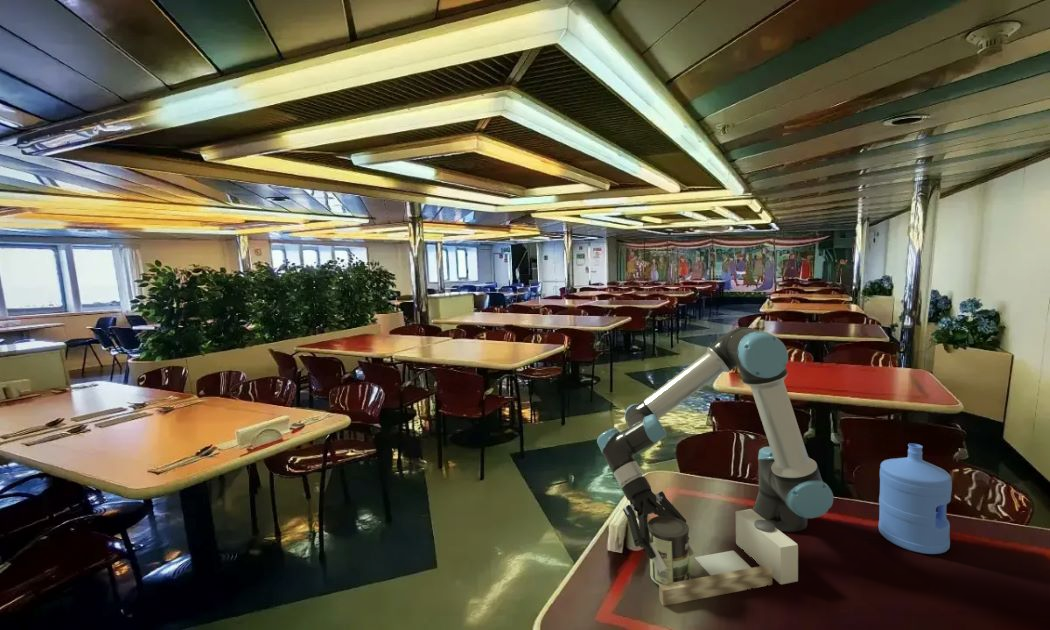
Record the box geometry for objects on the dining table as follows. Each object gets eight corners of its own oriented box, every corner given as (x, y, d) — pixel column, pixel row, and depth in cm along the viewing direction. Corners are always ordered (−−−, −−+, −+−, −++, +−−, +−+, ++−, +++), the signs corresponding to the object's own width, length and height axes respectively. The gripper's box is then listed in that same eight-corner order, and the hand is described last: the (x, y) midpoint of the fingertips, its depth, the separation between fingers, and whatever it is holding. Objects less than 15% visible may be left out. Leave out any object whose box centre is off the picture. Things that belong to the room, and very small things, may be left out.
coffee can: (687, 564, 124) (685, 515, 122) (693, 591, 114) (691, 538, 112) (648, 562, 126) (646, 514, 124) (651, 588, 116) (648, 536, 114)
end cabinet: (751, 541, 134) (750, 506, 133) (797, 581, 116) (797, 542, 115) (689, 551, 130) (688, 517, 129) (727, 595, 113) (726, 555, 112)
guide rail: (766, 579, 117) (766, 565, 117) (772, 584, 115) (772, 569, 115) (659, 600, 112) (659, 585, 112) (663, 605, 110) (662, 590, 110)
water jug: (889, 549, 126) (891, 453, 124) (871, 520, 141) (872, 433, 138) (961, 560, 120) (965, 459, 118) (934, 528, 135) (937, 438, 132)
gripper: (654, 476, 137) (699, 551, 125) (595, 498, 126) (638, 583, 113) (667, 465, 132) (715, 542, 120) (607, 487, 120) (653, 575, 108)
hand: (678, 562), depth 116 cm, fingers closed on coffee can, 10 cm apart
